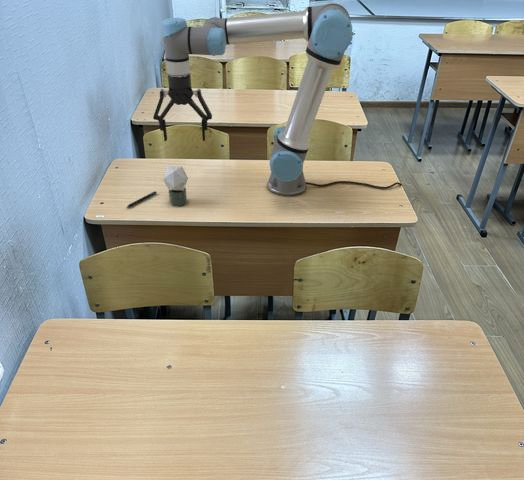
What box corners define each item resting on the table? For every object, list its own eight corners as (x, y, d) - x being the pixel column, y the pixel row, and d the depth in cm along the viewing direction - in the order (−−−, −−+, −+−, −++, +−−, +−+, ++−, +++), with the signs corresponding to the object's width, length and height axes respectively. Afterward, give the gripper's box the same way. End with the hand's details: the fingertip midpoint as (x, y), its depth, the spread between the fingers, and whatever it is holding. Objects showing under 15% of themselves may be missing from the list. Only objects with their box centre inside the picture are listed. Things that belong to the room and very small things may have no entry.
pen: (125, 208, 188) (125, 205, 187) (154, 193, 197) (154, 190, 197) (127, 209, 187) (127, 206, 187) (157, 194, 197) (156, 191, 196)
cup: (187, 198, 195) (186, 185, 191) (186, 206, 190) (185, 192, 186) (171, 198, 195) (169, 185, 191) (169, 206, 190) (167, 192, 186)
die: (178, 198, 184) (191, 174, 181) (156, 184, 182) (169, 159, 179) (180, 196, 192) (194, 172, 189) (160, 183, 190) (172, 159, 187)
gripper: (216, 70, 170) (219, 135, 185) (142, 71, 169) (151, 135, 184) (216, 77, 165) (219, 143, 179) (139, 77, 164) (148, 143, 178)
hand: (184, 139), depth 181 cm, fingers open, 13 cm apart
